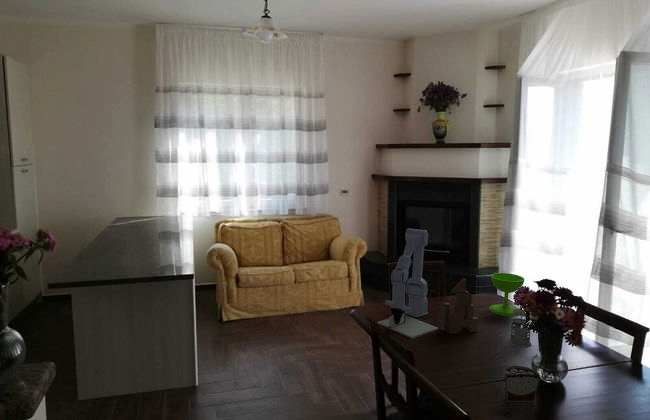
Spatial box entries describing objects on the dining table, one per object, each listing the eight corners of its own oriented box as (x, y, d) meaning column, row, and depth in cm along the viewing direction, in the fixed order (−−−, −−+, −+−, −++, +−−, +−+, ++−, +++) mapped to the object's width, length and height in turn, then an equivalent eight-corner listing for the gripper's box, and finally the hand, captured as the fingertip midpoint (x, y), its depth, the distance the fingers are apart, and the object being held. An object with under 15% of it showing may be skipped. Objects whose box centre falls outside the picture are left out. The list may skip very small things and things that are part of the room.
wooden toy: (469, 326, 226) (473, 275, 222) (477, 331, 219) (481, 279, 216) (439, 328, 222) (442, 276, 219) (446, 334, 216) (450, 280, 212)
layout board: (402, 315, 238) (403, 314, 238) (438, 329, 221) (438, 327, 221) (376, 323, 227) (377, 321, 227) (412, 338, 210) (412, 337, 210)
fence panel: (401, 321, 227) (402, 312, 226) (403, 322, 226) (404, 313, 225) (389, 326, 221) (389, 316, 220) (391, 327, 220) (391, 317, 219)
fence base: (394, 317, 233) (394, 307, 232) (405, 322, 227) (406, 312, 226) (392, 318, 232) (392, 308, 231) (404, 323, 226) (404, 312, 225)
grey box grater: (506, 344, 206) (510, 288, 203) (509, 335, 216) (513, 281, 213) (531, 349, 202) (535, 292, 198) (533, 339, 212) (537, 284, 208)
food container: (530, 392, 167) (532, 365, 165) (538, 401, 160) (541, 373, 159) (495, 392, 166) (497, 364, 165) (502, 401, 160) (504, 373, 159)
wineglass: (482, 307, 253) (484, 274, 251) (507, 304, 258) (510, 272, 256) (502, 317, 238) (504, 282, 236) (528, 314, 243) (531, 280, 240)
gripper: (381, 292, 222) (379, 320, 224) (404, 301, 211) (403, 330, 213) (391, 290, 226) (390, 317, 228) (415, 298, 215) (413, 327, 217)
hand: (397, 323), depth 221 cm, fingers closed
